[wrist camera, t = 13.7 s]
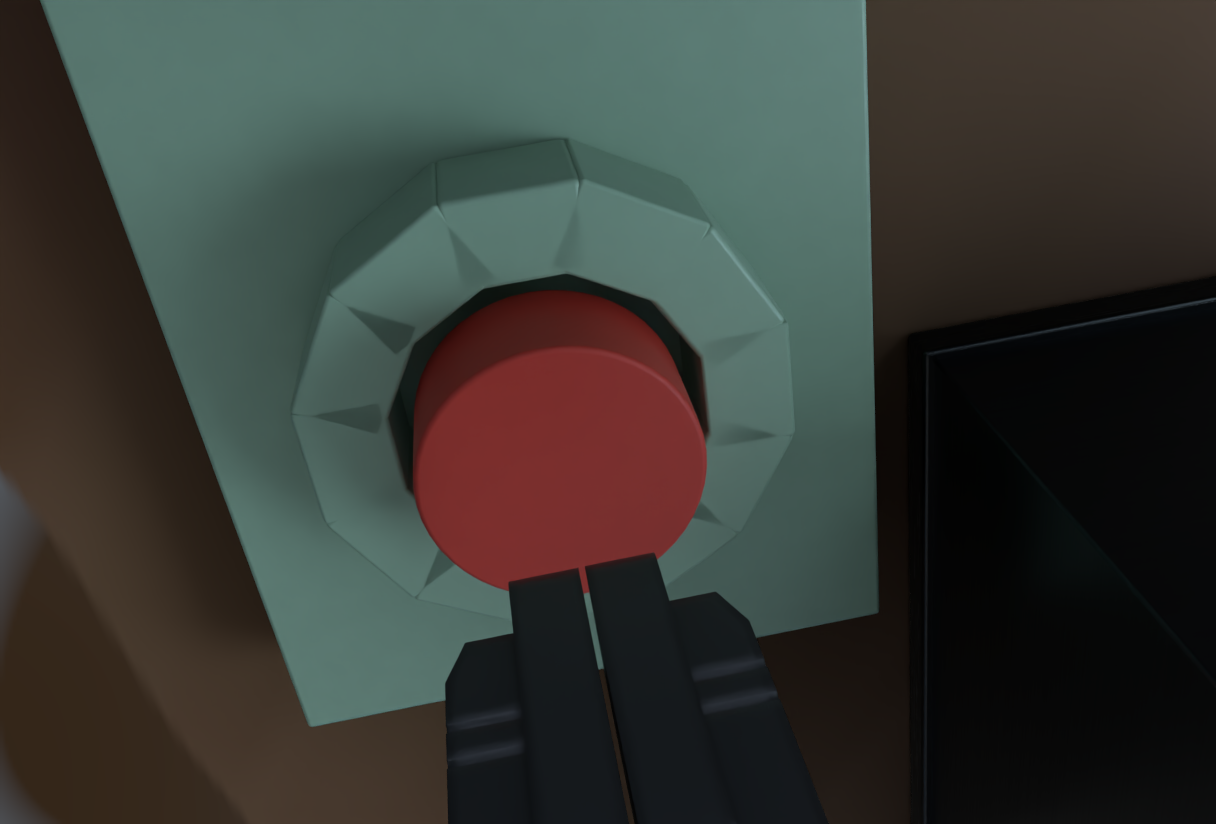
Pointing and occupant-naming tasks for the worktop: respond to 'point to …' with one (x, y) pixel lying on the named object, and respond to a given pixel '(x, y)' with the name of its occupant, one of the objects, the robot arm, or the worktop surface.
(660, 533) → the button
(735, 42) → the button block
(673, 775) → the robot arm
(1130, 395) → the toaster
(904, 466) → the worktop surface
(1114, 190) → the worktop surface
